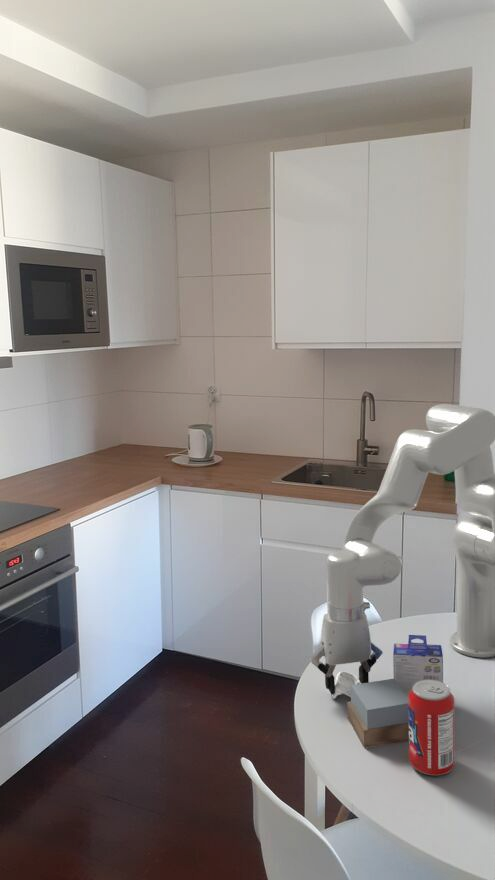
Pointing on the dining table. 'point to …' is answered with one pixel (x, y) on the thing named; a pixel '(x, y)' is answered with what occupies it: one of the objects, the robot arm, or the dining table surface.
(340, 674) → the white cloth bundle
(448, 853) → the dining table surface
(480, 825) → the dining table surface
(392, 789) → the dining table surface
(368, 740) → the base block
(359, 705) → the top block
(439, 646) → the ink cartridge box
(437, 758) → the soda can
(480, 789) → the dining table surface
